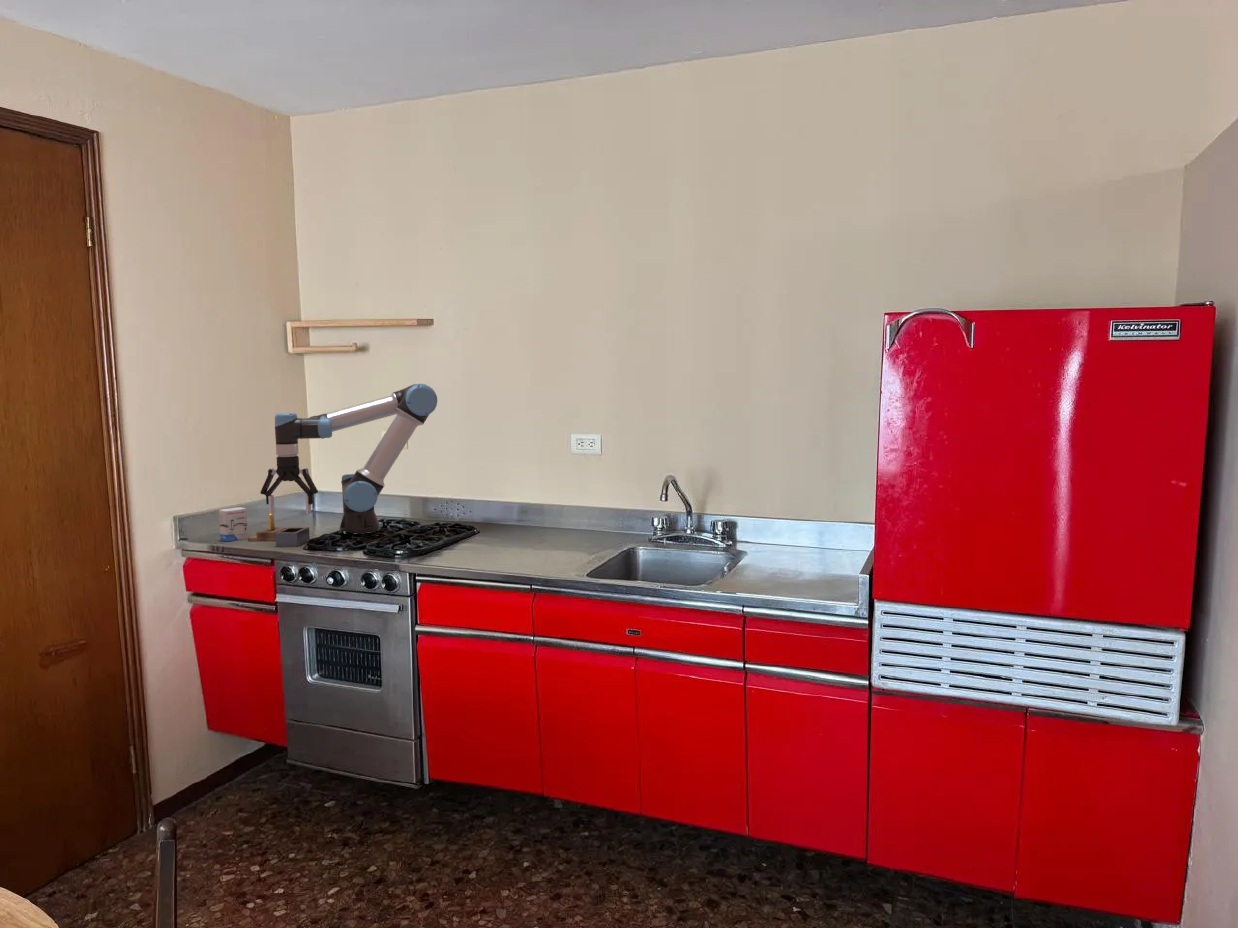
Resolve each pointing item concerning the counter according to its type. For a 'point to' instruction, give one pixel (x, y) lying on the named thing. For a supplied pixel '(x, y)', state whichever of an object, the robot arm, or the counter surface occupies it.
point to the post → (271, 522)
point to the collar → (292, 537)
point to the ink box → (233, 524)
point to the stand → (265, 535)
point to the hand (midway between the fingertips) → (290, 513)
